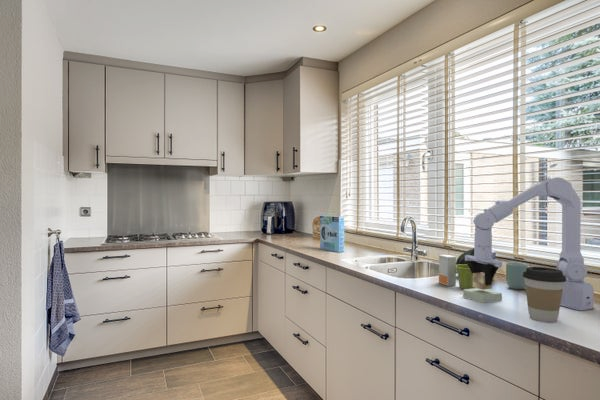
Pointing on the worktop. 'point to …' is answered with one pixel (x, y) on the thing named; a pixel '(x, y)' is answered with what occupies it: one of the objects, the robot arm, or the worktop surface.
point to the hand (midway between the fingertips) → (482, 283)
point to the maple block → (480, 281)
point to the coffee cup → (544, 292)
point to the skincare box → (447, 270)
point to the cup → (515, 275)
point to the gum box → (332, 233)
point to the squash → (462, 261)
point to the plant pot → (465, 276)
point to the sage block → (482, 295)
